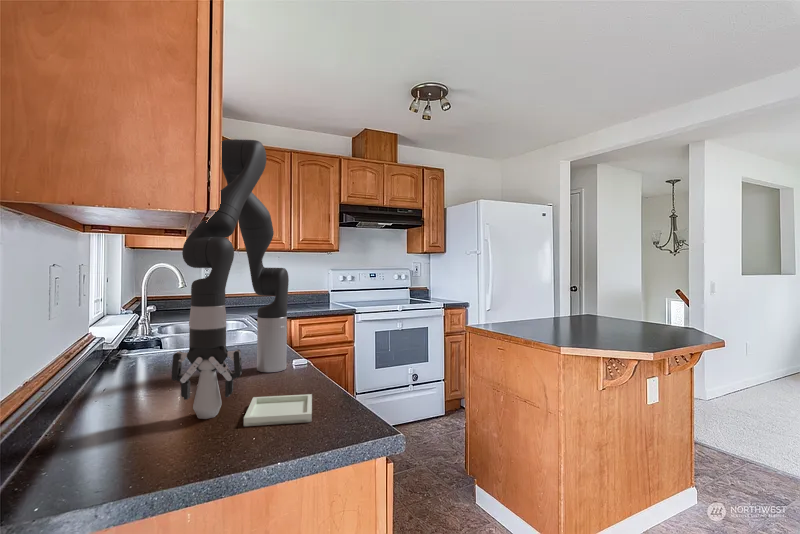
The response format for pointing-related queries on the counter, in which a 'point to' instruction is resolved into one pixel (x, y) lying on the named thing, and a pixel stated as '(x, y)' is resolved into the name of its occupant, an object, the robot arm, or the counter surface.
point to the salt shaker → (207, 392)
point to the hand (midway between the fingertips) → (207, 397)
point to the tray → (279, 410)
